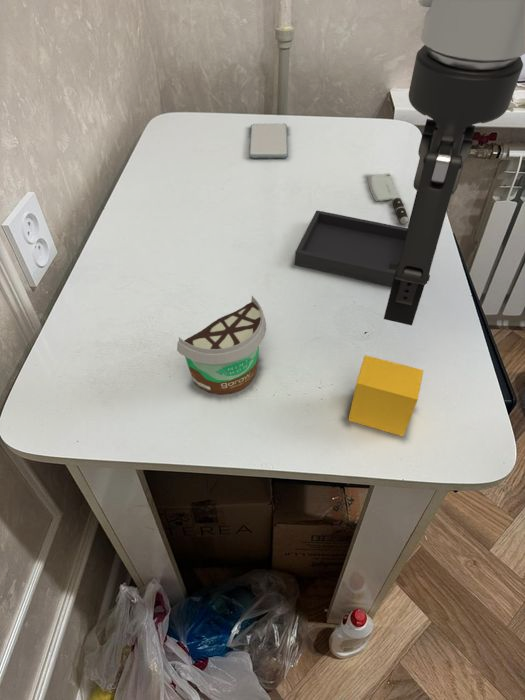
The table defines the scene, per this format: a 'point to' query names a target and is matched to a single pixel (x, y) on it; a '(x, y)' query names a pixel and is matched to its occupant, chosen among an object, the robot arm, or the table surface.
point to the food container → (226, 350)
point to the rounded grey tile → (268, 141)
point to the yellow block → (385, 395)
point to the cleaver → (387, 193)
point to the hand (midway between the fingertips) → (408, 275)
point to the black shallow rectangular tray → (351, 247)
